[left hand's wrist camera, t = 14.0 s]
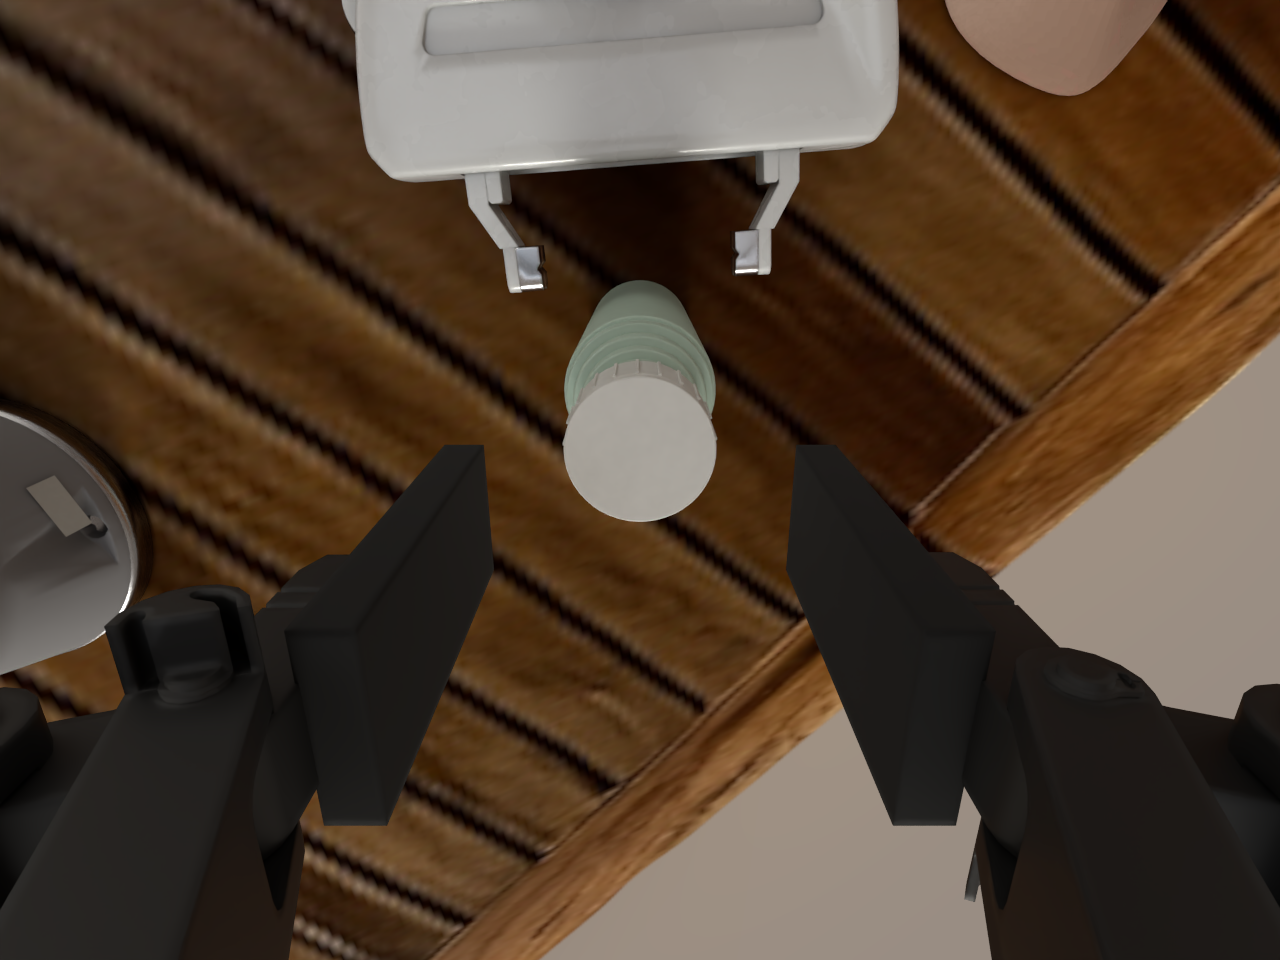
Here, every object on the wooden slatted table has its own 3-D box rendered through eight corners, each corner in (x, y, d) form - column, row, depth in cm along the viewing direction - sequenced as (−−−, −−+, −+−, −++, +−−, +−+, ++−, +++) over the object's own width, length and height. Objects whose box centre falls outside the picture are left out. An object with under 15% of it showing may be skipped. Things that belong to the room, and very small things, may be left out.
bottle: (590, 376, 37) (541, 534, 19) (591, 278, 35) (538, 343, 17) (685, 380, 37) (731, 541, 19) (691, 282, 36) (748, 351, 17)
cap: (568, 491, 20) (561, 521, 18) (569, 355, 19) (561, 371, 17) (705, 496, 20) (712, 526, 18) (715, 361, 19) (724, 377, 17)
